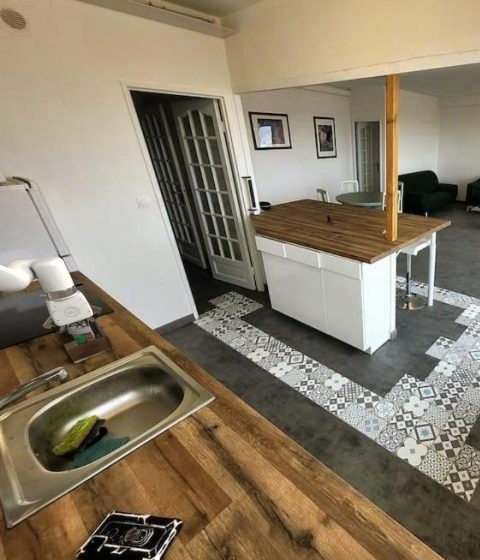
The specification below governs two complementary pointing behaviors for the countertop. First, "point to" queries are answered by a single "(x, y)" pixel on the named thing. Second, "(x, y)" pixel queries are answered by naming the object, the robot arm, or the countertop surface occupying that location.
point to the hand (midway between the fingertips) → (82, 334)
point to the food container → (81, 331)
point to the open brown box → (87, 346)
